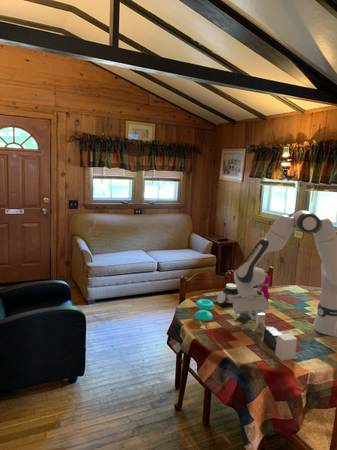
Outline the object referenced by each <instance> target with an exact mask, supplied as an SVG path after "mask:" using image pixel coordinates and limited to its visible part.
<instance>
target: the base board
mask: <svg viewBox="0 0 337 450" xmlns="http://www.w3.org/2000/svg"><path fill="white" fill-rule="evenodd" d="M245 334H247V336H248V337H250V339H251V340H252V341H254V342H255V343H256V344H257V345H258V346H259V348H261V349H262V351H264V352H265V353H266V354H267V355H269V357H271V359H273V361H275V362H283V361H284V360H282V361H281V360H280V359H279V358H278V357H277V356H276V355H275V351H276V350H271V349H270V348H269V347H268V346H267V345H266V344H265V343H264V342H263V338H264V332H262V333H256V332H255V330H253V331H252V330H251V331H250V330H249V331H245ZM296 359H300V357H299V356H298V354H296V353H295V359H294V360H296ZM289 360H291V359H289Z"/></svg>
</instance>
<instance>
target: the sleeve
mask: <svg viewBox="0 0 337 450" xmlns="http://www.w3.org/2000/svg"><path fill="white" fill-rule="evenodd" d="M281 334H283V332H281V331H280V330H279V329H278V328H276V327H274V326H269V327H268V326H267V328H265V329H264V338H263V342H264V343H265V344H266V345H267V346H268V347H269V348H270V349H271V350H276V342H275V337H277V335H281Z"/></svg>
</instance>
